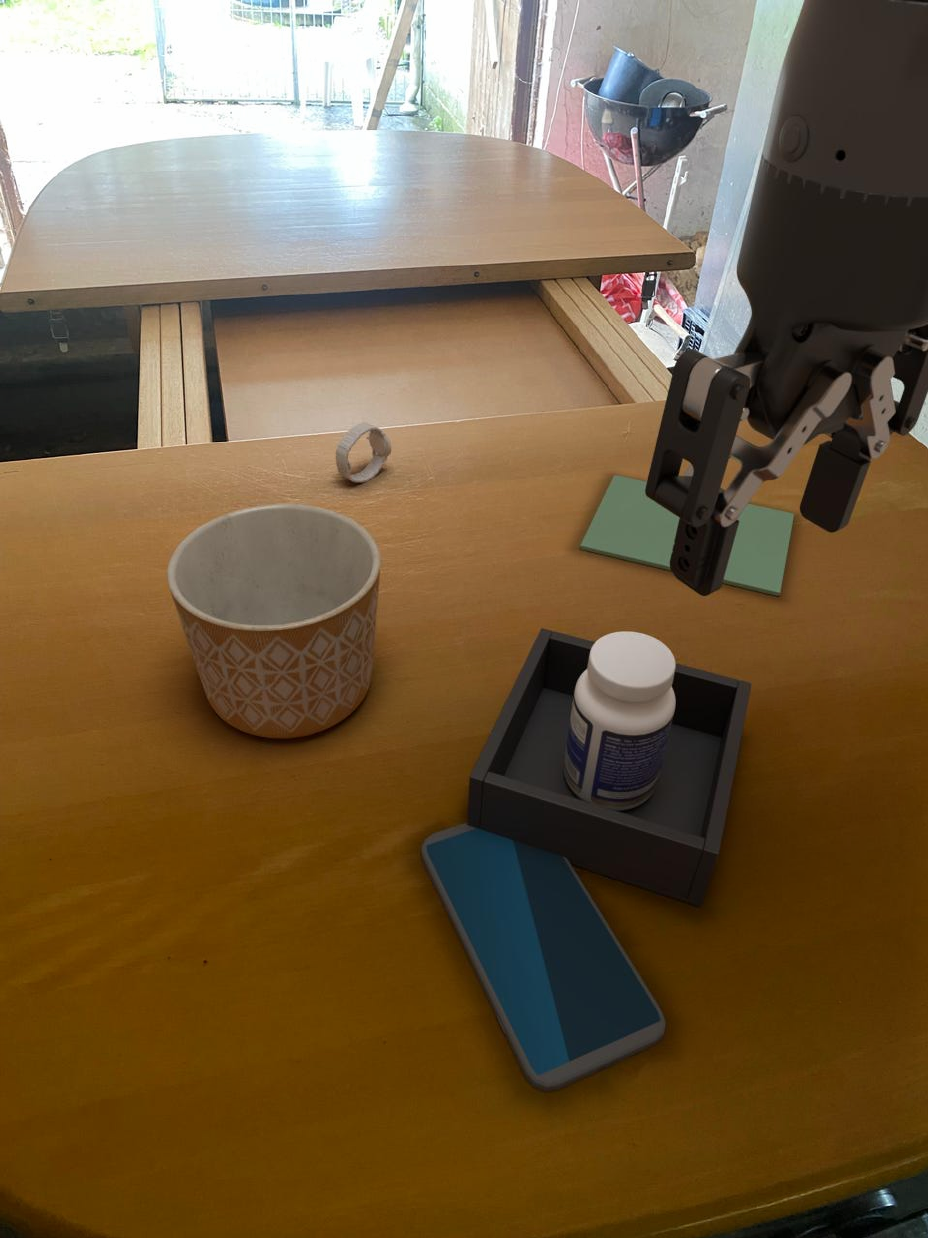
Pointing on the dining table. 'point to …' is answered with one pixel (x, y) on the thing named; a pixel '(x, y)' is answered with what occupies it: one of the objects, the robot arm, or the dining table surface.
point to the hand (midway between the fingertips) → (760, 551)
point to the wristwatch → (378, 445)
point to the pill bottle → (620, 721)
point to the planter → (279, 615)
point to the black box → (591, 834)
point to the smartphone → (542, 956)
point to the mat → (650, 529)
